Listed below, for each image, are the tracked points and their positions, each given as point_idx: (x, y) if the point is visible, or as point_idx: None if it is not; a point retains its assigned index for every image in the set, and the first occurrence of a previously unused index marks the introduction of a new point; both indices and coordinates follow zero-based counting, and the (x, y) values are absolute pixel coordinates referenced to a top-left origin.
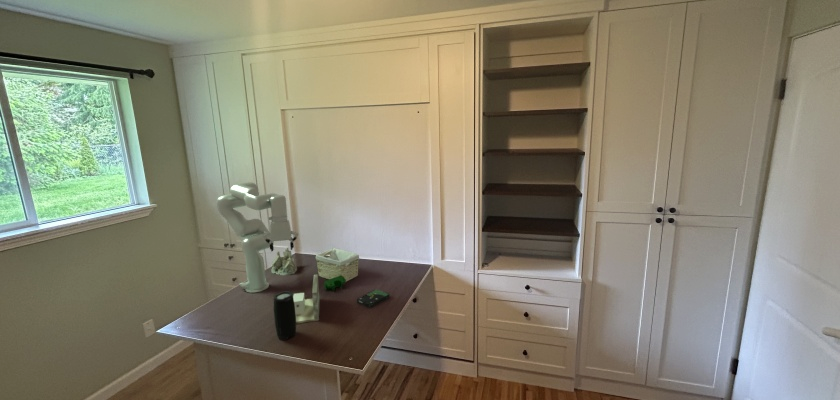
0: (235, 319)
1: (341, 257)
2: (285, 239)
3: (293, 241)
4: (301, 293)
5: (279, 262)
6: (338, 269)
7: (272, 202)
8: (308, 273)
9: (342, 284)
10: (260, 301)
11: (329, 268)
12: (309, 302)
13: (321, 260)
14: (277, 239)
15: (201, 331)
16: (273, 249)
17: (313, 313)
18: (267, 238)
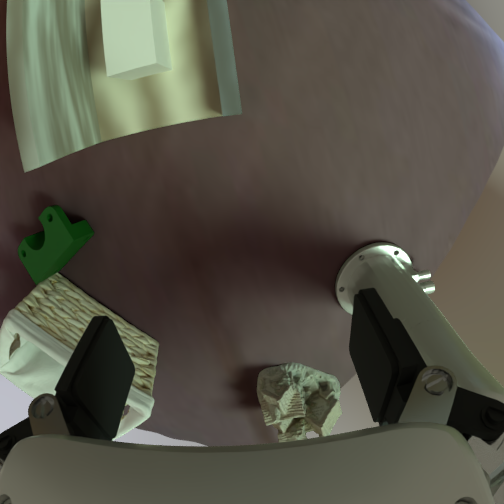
0: (395, 36)
1: None
2: (81, 451)
3: (30, 404)
4: (118, 66)
5: (317, 410)
6: (39, 309)
7: None
8: (207, 366)
9: (30, 237)
10: (344, 159)
11: None
12: (117, 103)
13: None
14: (290, 476)
15: (459, 8)
16: (350, 343)
17: (89, 19)
18: (481, 457)
